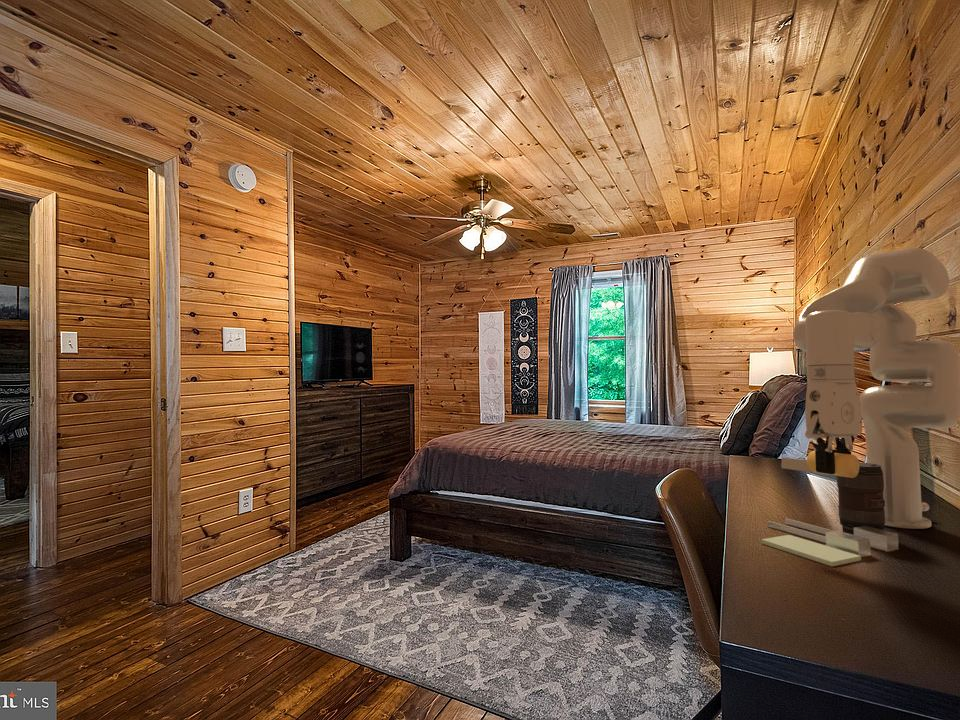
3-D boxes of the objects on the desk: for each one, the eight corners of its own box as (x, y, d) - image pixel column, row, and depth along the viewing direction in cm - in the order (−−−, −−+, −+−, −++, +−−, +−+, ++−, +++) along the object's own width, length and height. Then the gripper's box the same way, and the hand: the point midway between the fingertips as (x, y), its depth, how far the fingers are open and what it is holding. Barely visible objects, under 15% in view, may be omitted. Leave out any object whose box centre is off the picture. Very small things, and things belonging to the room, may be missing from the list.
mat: (789, 538, 105) (788, 534, 105) (861, 560, 92) (861, 555, 92) (761, 543, 102) (761, 539, 102) (832, 566, 89) (831, 561, 89)
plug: (791, 468, 104) (791, 448, 105) (859, 478, 92) (859, 455, 93) (777, 467, 102) (778, 447, 103) (845, 477, 91) (845, 453, 91)
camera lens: (879, 531, 109) (876, 462, 110) (891, 542, 102) (888, 467, 103) (835, 527, 113) (832, 460, 113) (843, 537, 105) (840, 465, 106)
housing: (795, 522, 117) (795, 509, 117) (898, 549, 97) (897, 533, 98) (758, 527, 112) (758, 514, 113) (858, 557, 93) (858, 541, 93)
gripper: (822, 374, 89) (825, 478, 88) (879, 375, 95) (882, 472, 94) (782, 375, 96) (784, 472, 95) (837, 376, 102) (840, 466, 101)
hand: (833, 471), depth 95 cm, fingers closed on plug, 4 cm apart
